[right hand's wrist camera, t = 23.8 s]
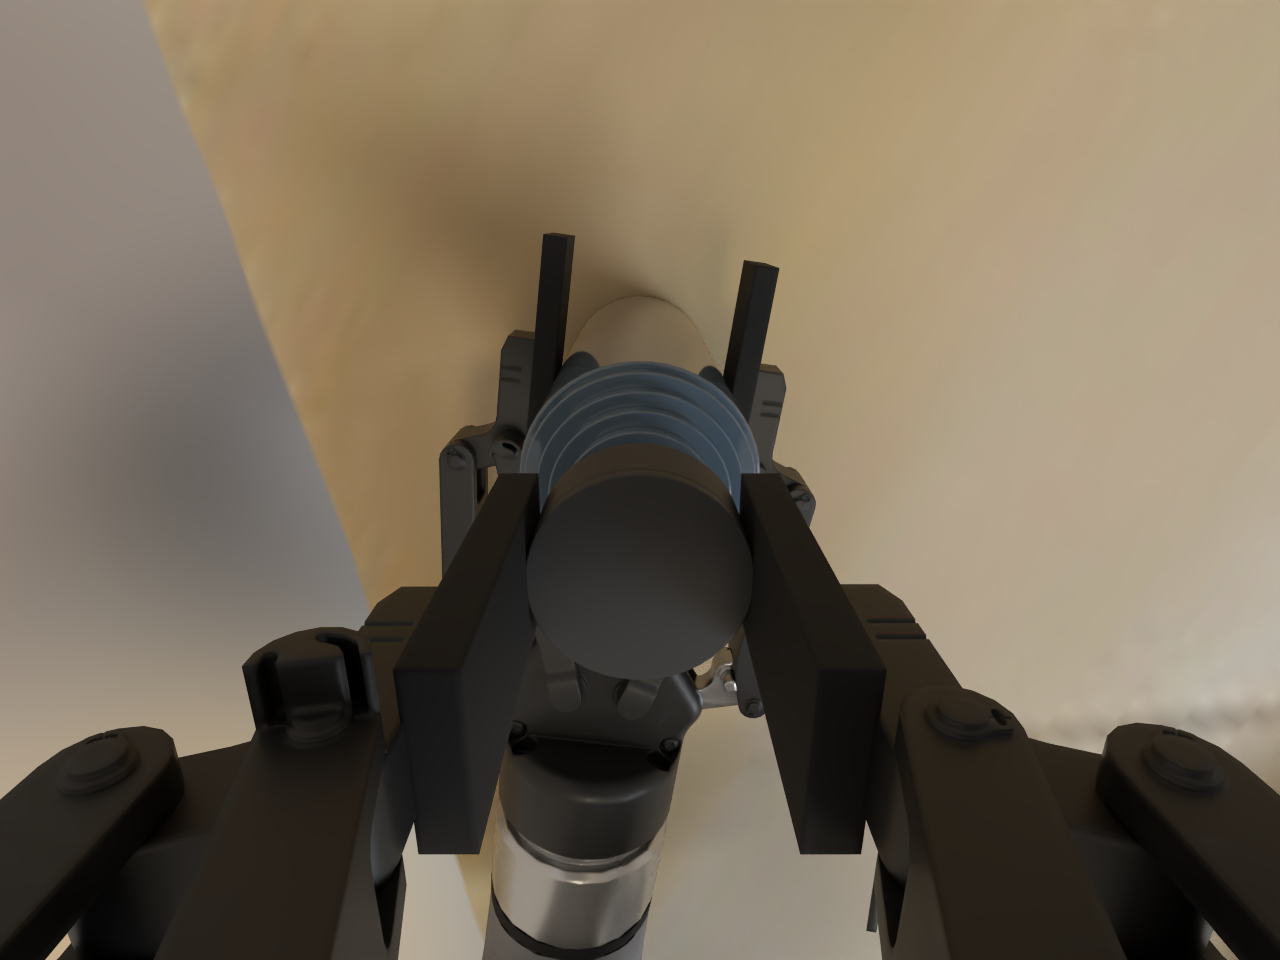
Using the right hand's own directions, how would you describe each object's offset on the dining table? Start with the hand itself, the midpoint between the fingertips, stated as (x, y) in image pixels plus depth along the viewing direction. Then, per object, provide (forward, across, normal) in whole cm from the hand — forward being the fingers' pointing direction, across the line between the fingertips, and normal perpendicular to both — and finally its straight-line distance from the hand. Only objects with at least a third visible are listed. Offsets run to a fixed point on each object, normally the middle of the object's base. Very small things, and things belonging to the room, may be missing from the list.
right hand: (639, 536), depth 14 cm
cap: (-2, 0, 0) cm, 2 cm away
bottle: (+18, 0, 0) cm, 18 cm away
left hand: (+11, -1, -5) cm, 13 cm away
